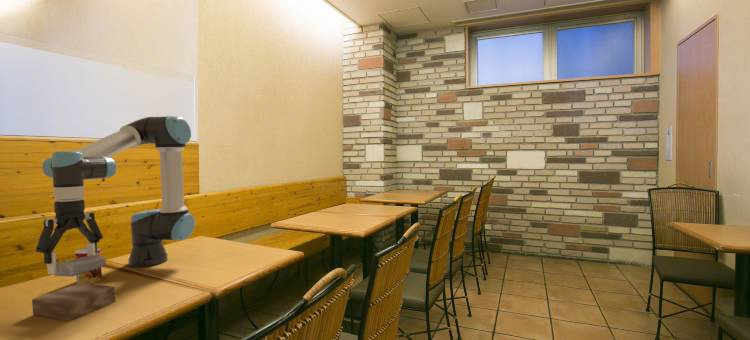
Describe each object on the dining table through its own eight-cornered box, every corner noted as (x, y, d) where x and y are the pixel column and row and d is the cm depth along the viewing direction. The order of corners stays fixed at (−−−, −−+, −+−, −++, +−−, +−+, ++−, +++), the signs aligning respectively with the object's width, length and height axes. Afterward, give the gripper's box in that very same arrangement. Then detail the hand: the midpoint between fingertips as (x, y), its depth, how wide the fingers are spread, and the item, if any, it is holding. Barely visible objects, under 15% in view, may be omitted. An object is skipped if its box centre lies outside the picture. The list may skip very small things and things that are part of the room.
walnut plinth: (82, 296, 132) (81, 282, 132) (115, 301, 128) (114, 286, 128) (33, 315, 118) (32, 299, 118) (68, 321, 114) (67, 304, 113)
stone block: (48, 280, 116) (72, 276, 114) (45, 265, 117) (70, 260, 114) (86, 270, 128) (109, 266, 125) (83, 256, 128) (106, 252, 126)
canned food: (104, 280, 148) (102, 250, 147) (78, 285, 142) (76, 254, 142) (99, 275, 154) (97, 246, 153) (75, 280, 148) (73, 250, 147)
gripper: (97, 195, 133) (100, 256, 134) (16, 204, 110) (21, 278, 111) (113, 195, 131) (116, 258, 132) (35, 205, 108) (39, 281, 109)
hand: (72, 267), depth 122 cm, fingers closed on stone block, 11 cm apart
